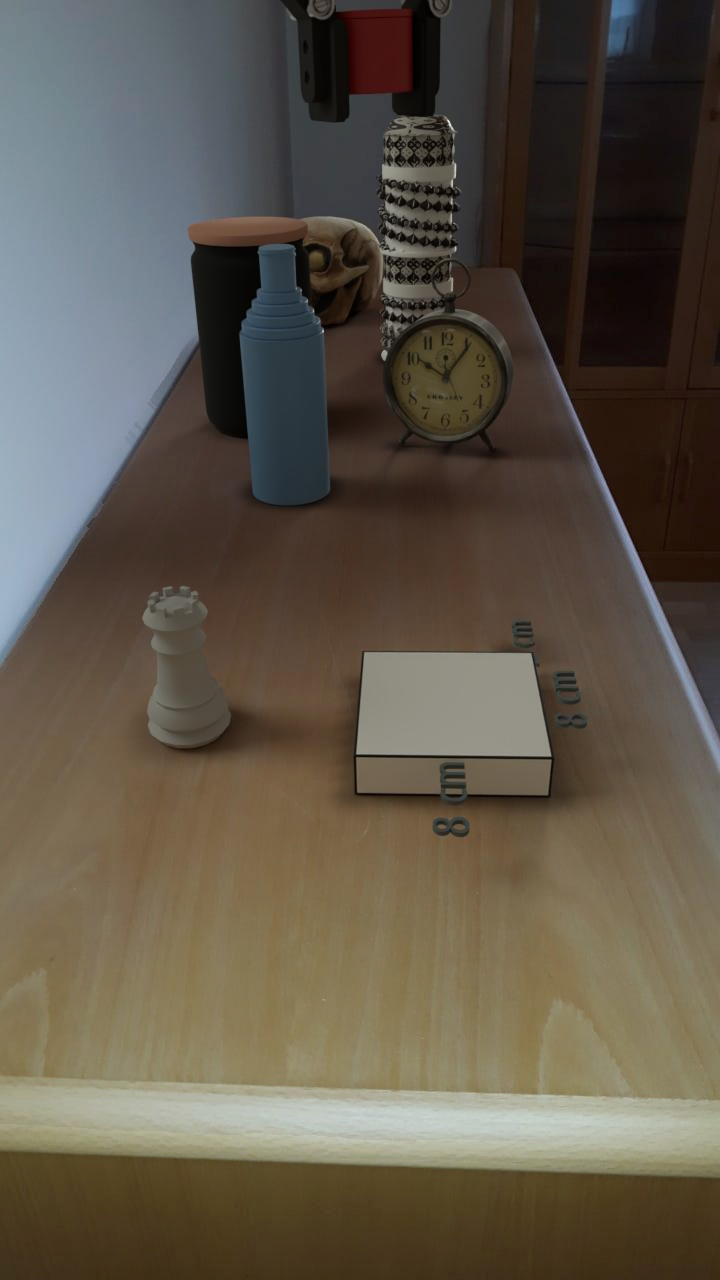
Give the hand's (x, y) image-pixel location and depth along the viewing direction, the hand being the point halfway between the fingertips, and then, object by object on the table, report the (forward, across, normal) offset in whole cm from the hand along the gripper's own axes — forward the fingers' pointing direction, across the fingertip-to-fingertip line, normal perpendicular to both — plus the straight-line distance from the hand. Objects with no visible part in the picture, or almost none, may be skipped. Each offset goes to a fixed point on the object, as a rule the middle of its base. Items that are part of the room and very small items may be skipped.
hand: (371, 113), depth 47 cm
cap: (-1, 0, 0) cm, 1 cm away
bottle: (+28, -4, -24) cm, 37 cm away
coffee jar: (+29, -8, -41) cm, 51 cm away
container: (+29, +1, +12) cm, 31 cm away
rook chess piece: (+29, +14, +4) cm, 32 cm away
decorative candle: (+29, -33, -54) cm, 69 cm away
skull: (+29, -32, -79) cm, 90 cm away
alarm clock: (+29, -20, -26) cm, 44 cm away
